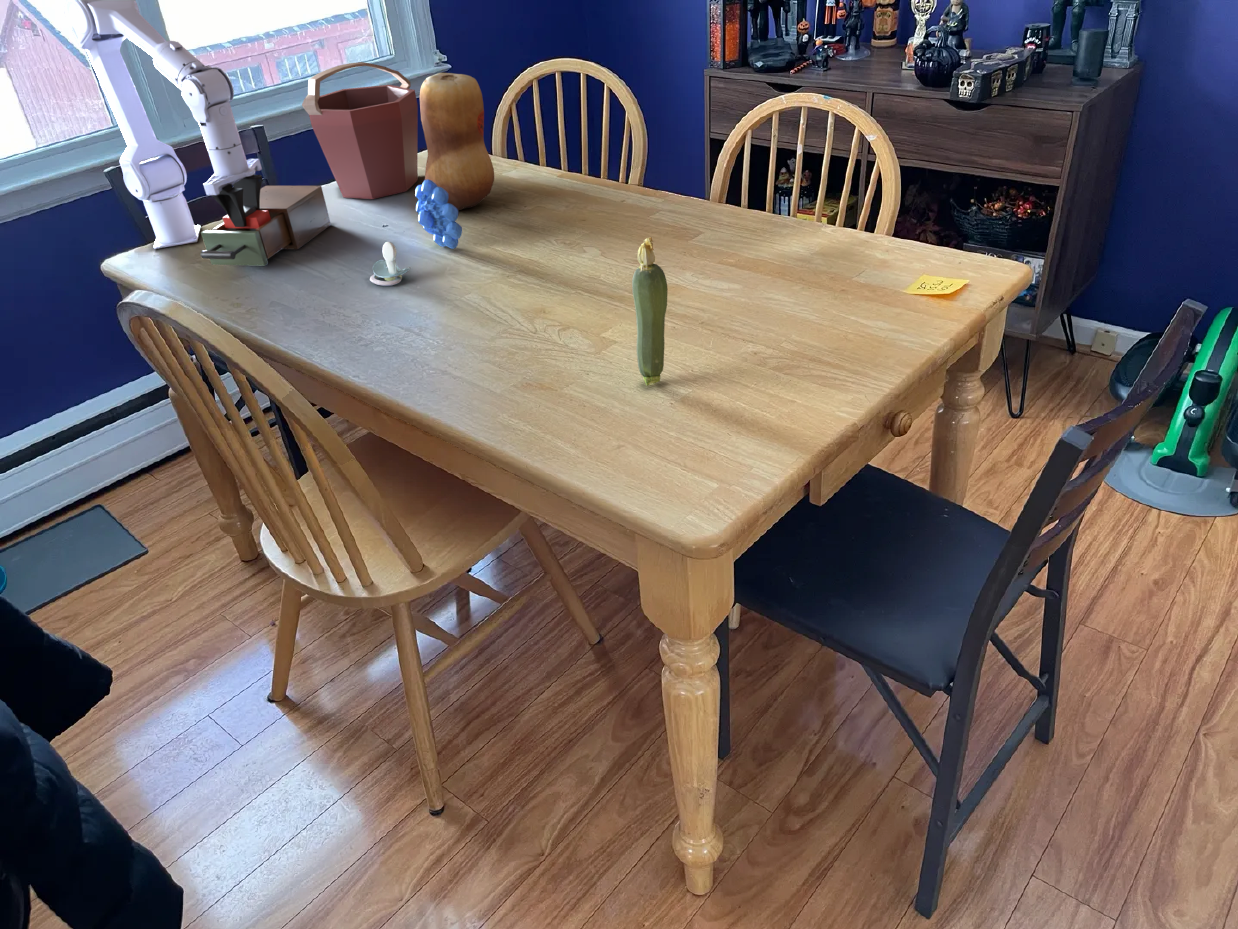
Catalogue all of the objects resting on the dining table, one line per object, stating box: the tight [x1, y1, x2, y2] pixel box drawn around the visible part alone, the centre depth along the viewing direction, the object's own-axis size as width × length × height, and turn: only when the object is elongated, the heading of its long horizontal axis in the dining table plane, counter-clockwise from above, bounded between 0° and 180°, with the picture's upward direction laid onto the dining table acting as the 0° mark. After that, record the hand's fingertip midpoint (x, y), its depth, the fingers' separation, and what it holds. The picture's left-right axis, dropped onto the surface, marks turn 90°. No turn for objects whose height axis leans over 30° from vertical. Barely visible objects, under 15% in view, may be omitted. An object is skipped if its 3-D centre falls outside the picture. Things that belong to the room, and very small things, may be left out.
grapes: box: [414, 179, 463, 250], centre depth 164 cm, size 12×7×12 cm, turn 45°
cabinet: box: [260, 185, 332, 250], centre depth 177 cm, size 13×12×8 cm
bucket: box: [301, 61, 419, 200], centre depth 195 cm, size 24×22×25 cm
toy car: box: [221, 206, 271, 231], centre depth 167 cm, size 7×4×4 cm, turn 77°
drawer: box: [200, 213, 292, 267], centre depth 166 cm, size 17×11×6 cm, turn 167°
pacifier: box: [369, 241, 412, 287], centre depth 155 cm, size 7×6×6 cm
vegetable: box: [631, 236, 669, 387], centre depth 115 cm, size 4×4×20 cm
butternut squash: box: [419, 72, 495, 211], centre depth 179 cm, size 14×13×25 cm
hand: (247, 221), depth 167 cm, fingers closed on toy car, 4 cm apart
